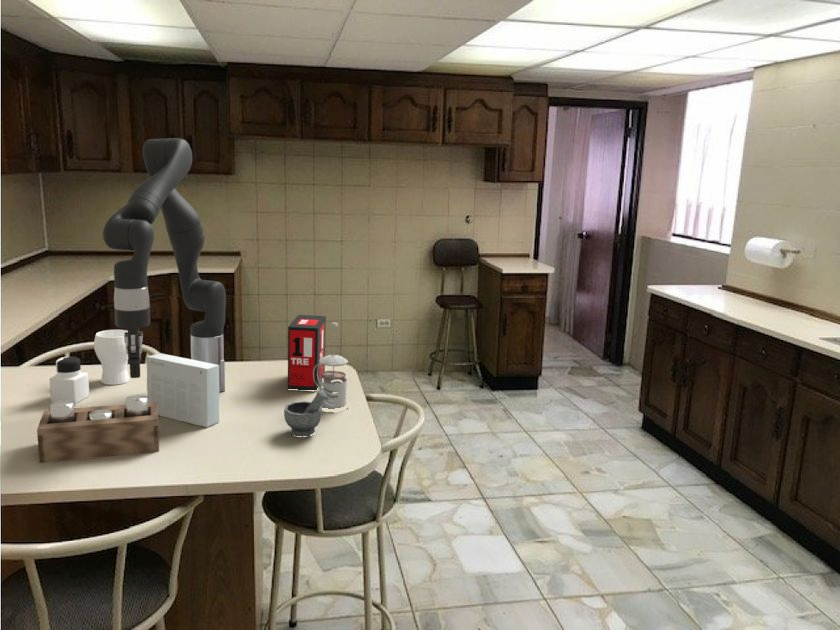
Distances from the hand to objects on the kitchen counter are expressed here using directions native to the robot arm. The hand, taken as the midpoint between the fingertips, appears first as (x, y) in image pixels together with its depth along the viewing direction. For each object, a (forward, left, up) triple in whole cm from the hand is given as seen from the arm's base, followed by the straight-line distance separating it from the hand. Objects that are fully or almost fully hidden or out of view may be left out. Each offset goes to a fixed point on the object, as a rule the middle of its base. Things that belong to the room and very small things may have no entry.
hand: (135, 376), depth 162 cm
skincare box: (-11, -15, -17) cm, 25 cm away
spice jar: (+8, 0, -13) cm, 15 cm away
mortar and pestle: (-40, +4, -17) cm, 44 cm away
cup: (+7, -50, -17) cm, 53 cm away
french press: (-51, -14, -17) cm, 56 cm away
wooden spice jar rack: (+8, 0, -17) cm, 19 cm away
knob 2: (0, 0, -10) cm, 10 cm away
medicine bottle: (+18, -36, -17) cm, 44 cm away
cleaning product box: (-49, -36, -17) cm, 63 cm away
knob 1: (+16, 0, -10) cm, 19 cm away
